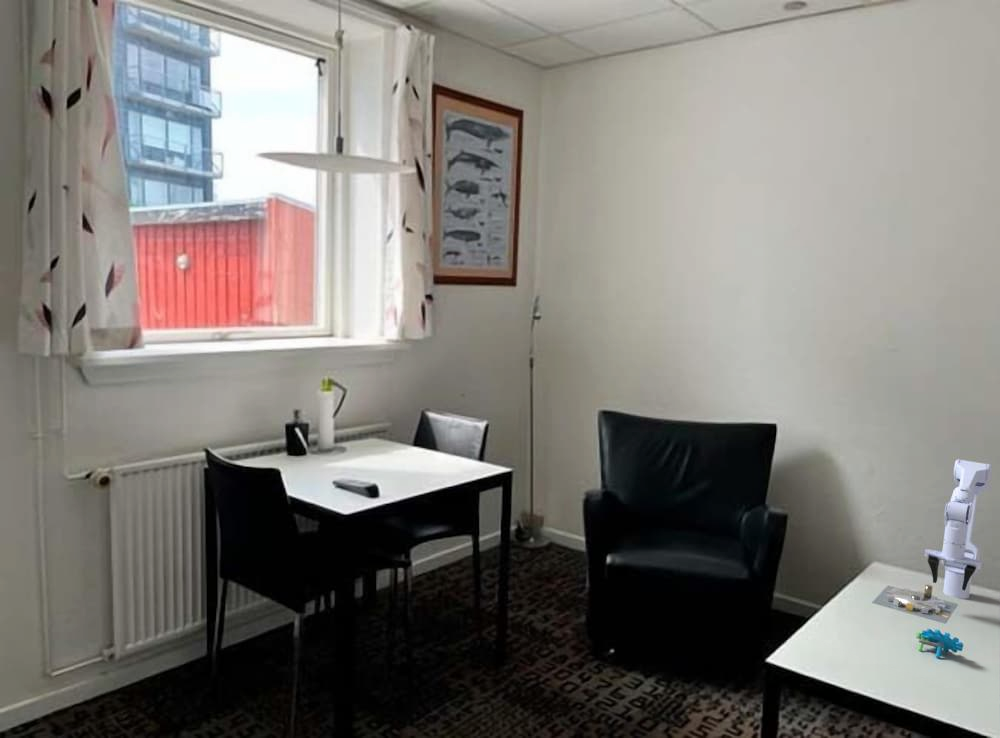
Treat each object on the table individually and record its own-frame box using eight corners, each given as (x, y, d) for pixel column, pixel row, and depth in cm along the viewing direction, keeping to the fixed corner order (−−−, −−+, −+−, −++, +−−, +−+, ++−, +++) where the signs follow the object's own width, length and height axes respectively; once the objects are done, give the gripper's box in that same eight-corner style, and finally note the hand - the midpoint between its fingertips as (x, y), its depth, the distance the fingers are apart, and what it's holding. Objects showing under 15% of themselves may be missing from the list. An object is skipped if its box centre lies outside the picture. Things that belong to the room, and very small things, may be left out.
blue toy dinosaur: (968, 651, 205) (958, 631, 200) (963, 671, 202) (953, 652, 197) (923, 641, 213) (913, 622, 208) (918, 660, 210) (907, 641, 206)
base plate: (887, 588, 252) (888, 585, 252) (957, 607, 239) (957, 603, 239) (871, 605, 237) (871, 602, 236) (944, 626, 224) (945, 623, 224)
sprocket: (893, 588, 249) (894, 573, 248) (949, 603, 239) (951, 588, 238) (880, 602, 237) (882, 586, 236) (939, 618, 227) (941, 602, 226)
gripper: (924, 538, 231) (919, 582, 232) (980, 551, 222) (975, 596, 223) (929, 533, 236) (924, 575, 238) (984, 545, 227) (979, 589, 229)
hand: (949, 585), depth 231 cm, fingers open, 7 cm apart
